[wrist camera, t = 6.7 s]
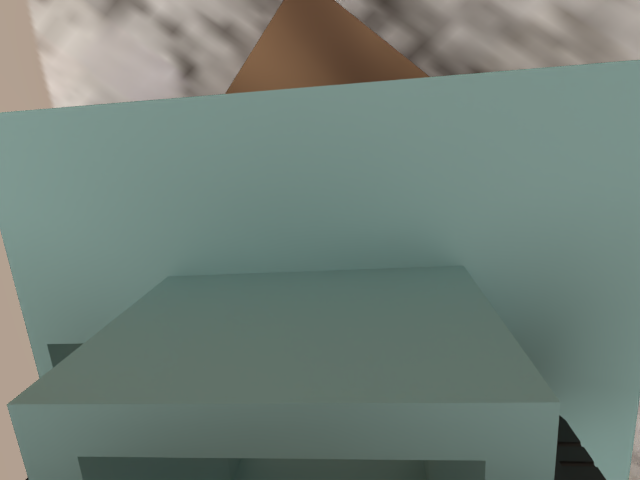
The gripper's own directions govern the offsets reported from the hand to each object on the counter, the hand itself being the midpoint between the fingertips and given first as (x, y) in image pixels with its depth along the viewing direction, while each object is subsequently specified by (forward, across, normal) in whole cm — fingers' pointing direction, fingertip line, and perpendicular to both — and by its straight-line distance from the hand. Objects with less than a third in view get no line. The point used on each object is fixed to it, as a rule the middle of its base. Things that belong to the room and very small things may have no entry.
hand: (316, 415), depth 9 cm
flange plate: (+2, 0, 0) cm, 2 cm away
